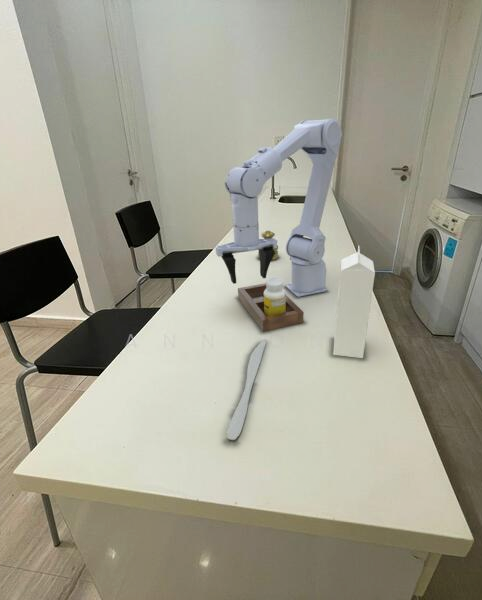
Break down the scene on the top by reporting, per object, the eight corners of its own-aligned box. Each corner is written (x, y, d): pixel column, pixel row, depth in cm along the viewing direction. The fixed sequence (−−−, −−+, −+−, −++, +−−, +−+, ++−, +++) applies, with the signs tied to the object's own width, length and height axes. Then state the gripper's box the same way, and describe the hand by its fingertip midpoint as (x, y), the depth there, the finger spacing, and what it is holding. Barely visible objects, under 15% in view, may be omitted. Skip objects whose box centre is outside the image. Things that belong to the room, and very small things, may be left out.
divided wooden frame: (272, 291, 97) (272, 281, 95) (303, 322, 80) (303, 311, 79) (238, 297, 94) (237, 288, 92) (263, 331, 77) (262, 320, 76)
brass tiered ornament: (281, 256, 124) (281, 229, 119) (271, 262, 118) (271, 235, 114) (264, 253, 127) (264, 227, 123) (254, 259, 122) (253, 232, 117)
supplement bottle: (263, 312, 86) (262, 277, 81) (283, 311, 86) (284, 276, 81) (265, 323, 81) (264, 287, 76) (287, 321, 81) (287, 285, 77)
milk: (333, 355, 68) (341, 254, 58) (334, 339, 74) (341, 243, 64) (363, 358, 67) (377, 255, 57) (362, 342, 72) (375, 244, 62)
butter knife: (219, 436, 50) (238, 438, 50) (256, 340, 74) (269, 340, 73) (219, 439, 50) (238, 441, 50) (256, 342, 74) (269, 342, 73)
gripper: (219, 232, 69) (224, 290, 76) (282, 224, 74) (282, 280, 80) (211, 225, 75) (217, 279, 82) (270, 217, 80) (271, 270, 86)
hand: (248, 279), depth 81 cm, fingers open, 7 cm apart
